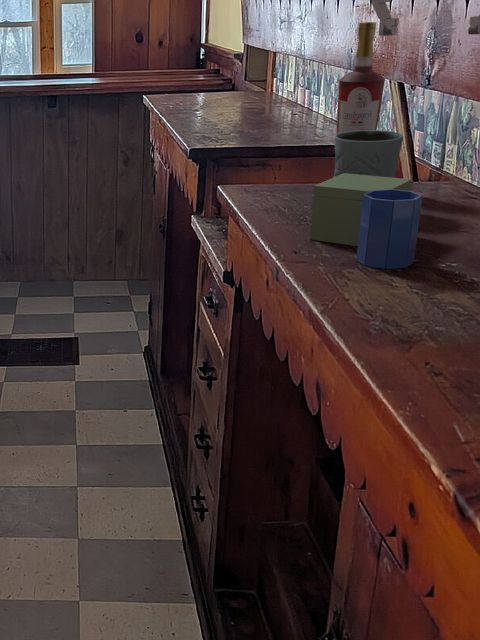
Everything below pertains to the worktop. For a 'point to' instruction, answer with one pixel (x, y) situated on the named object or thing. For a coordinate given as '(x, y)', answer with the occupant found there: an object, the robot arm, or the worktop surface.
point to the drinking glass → (367, 152)
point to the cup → (389, 228)
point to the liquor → (361, 88)
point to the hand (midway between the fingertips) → (431, 34)
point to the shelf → (345, 205)
